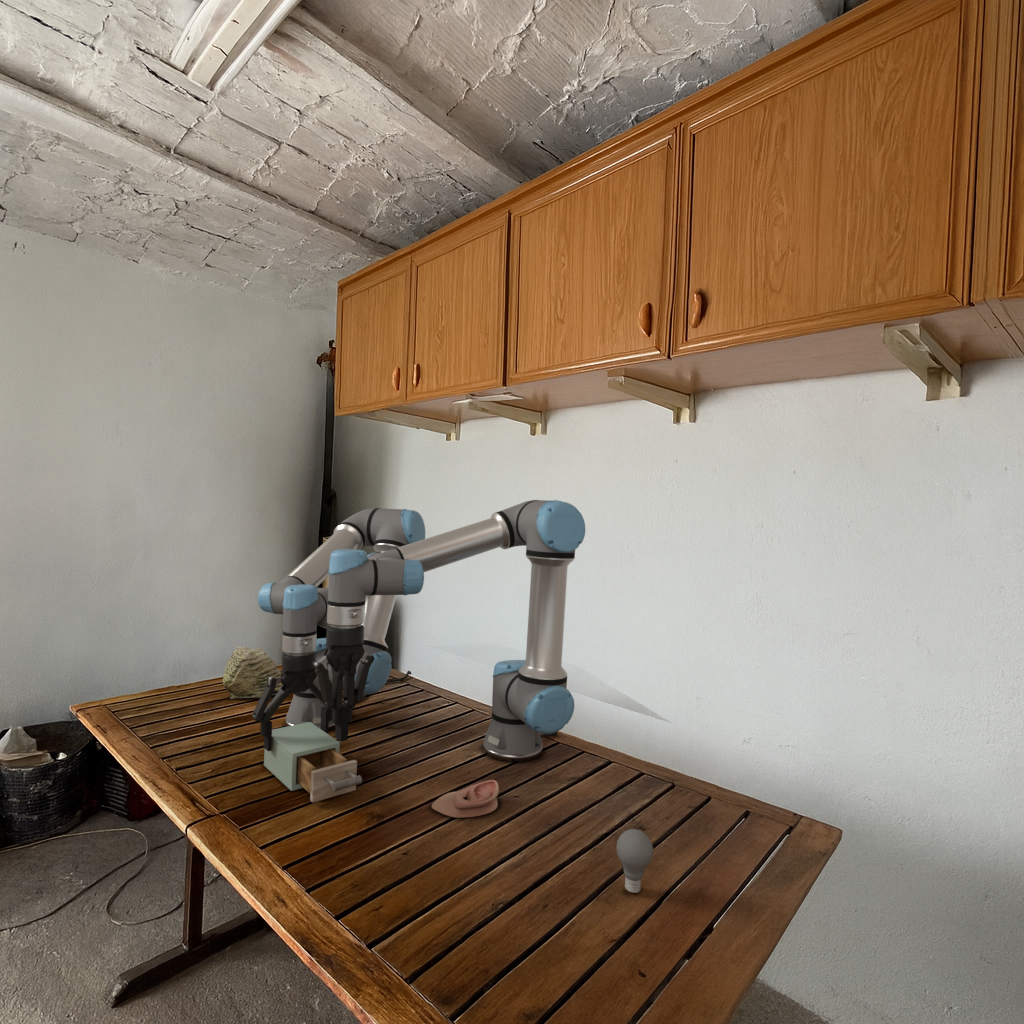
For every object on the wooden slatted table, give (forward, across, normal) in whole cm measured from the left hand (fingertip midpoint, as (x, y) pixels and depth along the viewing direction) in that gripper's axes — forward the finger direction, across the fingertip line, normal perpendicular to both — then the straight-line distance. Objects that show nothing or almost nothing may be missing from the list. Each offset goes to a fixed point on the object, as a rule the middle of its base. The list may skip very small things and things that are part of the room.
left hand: (296, 742), depth 148 cm
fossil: (+6, +10, +57) cm, 59 cm away
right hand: (-8, 0, -23) cm, 24 cm away
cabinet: (+6, 0, -4) cm, 7 cm away
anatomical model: (+6, +20, -39) cm, 44 cm away
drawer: (+5, 0, -16) cm, 17 cm away
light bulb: (+5, +25, -79) cm, 83 cm away
